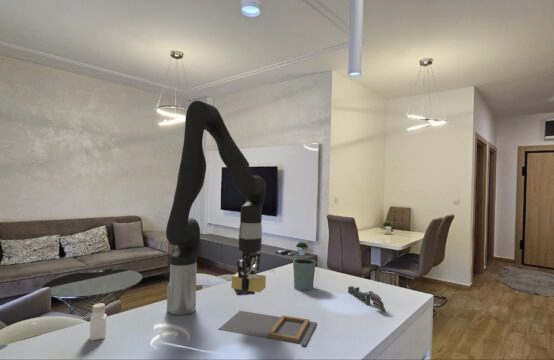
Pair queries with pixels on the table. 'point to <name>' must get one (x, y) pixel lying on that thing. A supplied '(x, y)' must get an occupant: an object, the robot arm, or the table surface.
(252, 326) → the mat
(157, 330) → the table surface
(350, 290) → the block letters
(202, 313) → the table surface
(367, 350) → the table surface
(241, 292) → the phone
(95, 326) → the pepper shaker
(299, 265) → the green cup
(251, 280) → the card box
